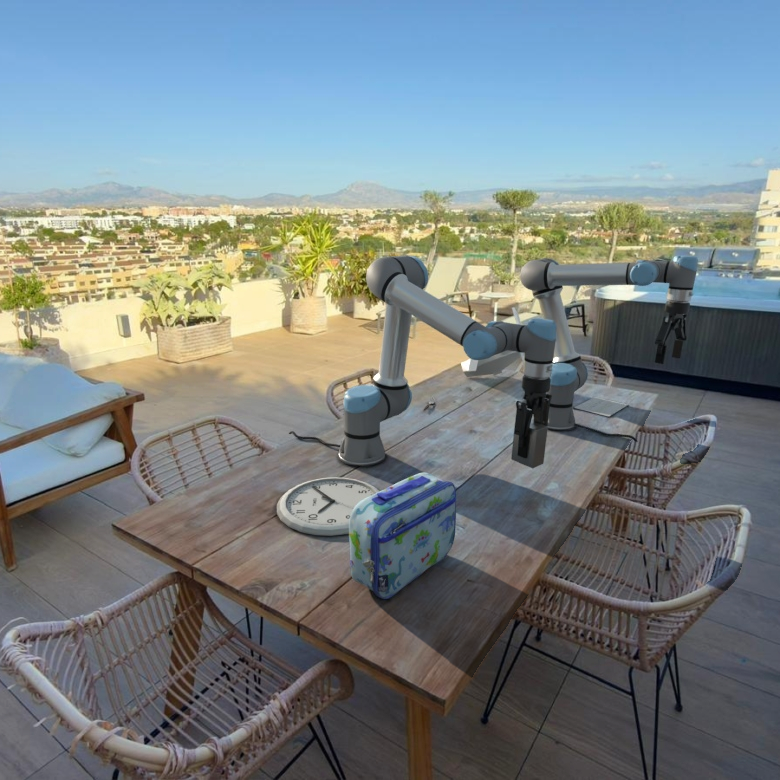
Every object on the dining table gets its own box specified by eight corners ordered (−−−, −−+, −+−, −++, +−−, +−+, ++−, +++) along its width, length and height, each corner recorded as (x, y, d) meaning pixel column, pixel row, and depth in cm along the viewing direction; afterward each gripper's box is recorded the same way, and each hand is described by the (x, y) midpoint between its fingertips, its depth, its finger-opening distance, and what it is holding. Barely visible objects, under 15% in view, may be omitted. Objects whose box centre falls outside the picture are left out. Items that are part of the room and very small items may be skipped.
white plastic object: (482, 418, 266) (461, 395, 241) (463, 346, 288) (443, 318, 264) (553, 394, 254) (538, 368, 229) (528, 321, 276) (512, 289, 251)
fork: (420, 411, 216) (420, 406, 216) (430, 400, 230) (431, 395, 230) (426, 412, 215) (426, 407, 215) (436, 401, 230) (436, 396, 229)
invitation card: (608, 416, 214) (573, 407, 224) (608, 416, 214) (573, 408, 224) (628, 404, 229) (594, 396, 238) (628, 405, 229) (594, 397, 238)
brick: (511, 459, 152) (514, 422, 149) (521, 454, 155) (525, 418, 152) (532, 468, 147) (537, 430, 143) (543, 463, 150) (548, 426, 146)
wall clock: (392, 527, 129) (268, 531, 127) (391, 533, 130) (269, 537, 127) (383, 473, 158) (282, 475, 155) (383, 478, 158) (282, 480, 156)
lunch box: (377, 612, 103) (378, 518, 97) (342, 586, 111) (341, 497, 104) (459, 557, 121) (465, 475, 115) (425, 538, 128) (428, 460, 122)
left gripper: (528, 385, 135) (519, 467, 142) (567, 374, 146) (557, 450, 153) (504, 378, 140) (497, 457, 147) (544, 368, 151) (536, 442, 158)
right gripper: (673, 305, 172) (662, 367, 178) (704, 300, 187) (693, 357, 194) (650, 302, 178) (640, 363, 184) (682, 297, 193) (672, 353, 199)
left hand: (528, 453), depth 150 cm, fingers closed on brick, 5 cm apart
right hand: (667, 360), depth 189 cm, fingers open, 13 cm apart
